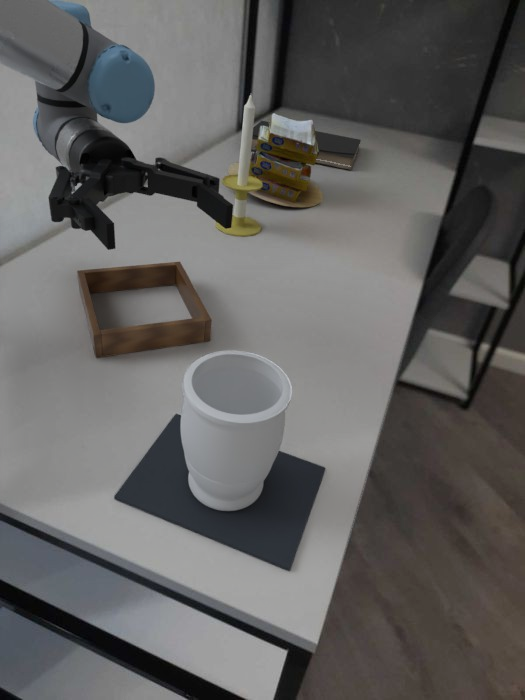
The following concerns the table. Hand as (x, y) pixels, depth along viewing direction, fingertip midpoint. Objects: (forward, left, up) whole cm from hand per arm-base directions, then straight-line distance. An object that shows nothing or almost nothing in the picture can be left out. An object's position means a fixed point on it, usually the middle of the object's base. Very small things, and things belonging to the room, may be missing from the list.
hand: (174, 226), depth 54 cm
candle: (+27, +49, -25) cm, 61 cm away
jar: (+2, -15, -24) cm, 29 cm away
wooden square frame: (0, +20, -25) cm, 32 cm away
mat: (+2, -15, -25) cm, 29 cm away
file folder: (+67, +99, -25) cm, 122 cm away
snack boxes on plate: (+44, +68, -25) cm, 85 cm away
